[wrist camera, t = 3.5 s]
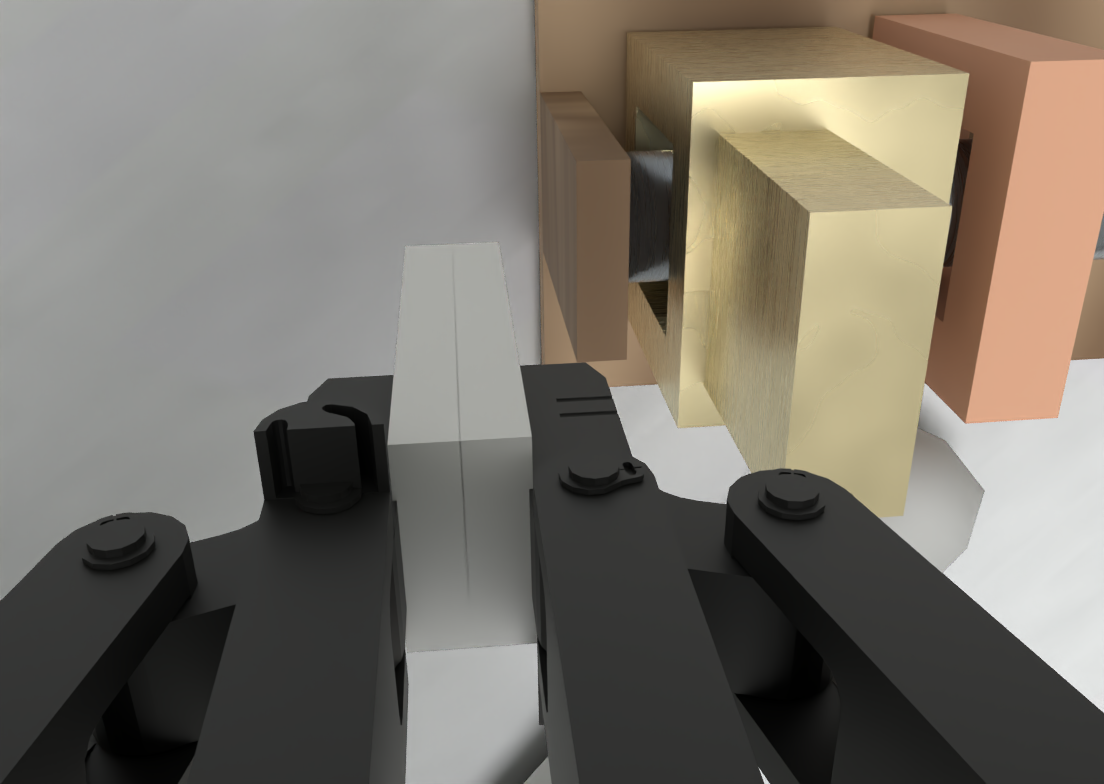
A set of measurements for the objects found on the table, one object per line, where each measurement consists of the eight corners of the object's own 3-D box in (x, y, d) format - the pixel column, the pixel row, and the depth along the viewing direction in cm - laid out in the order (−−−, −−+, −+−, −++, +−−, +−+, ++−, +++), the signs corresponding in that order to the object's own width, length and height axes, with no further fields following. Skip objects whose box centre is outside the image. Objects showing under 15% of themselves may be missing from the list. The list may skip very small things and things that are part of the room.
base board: (542, 375, 30) (577, 532, 22) (532, -91, 24) (575, -81, 17) (1266, 334, 32) (1512, 466, 24) (1403, -107, 26) (1768, -103, 19)
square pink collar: (842, 299, 28) (965, 423, 22) (875, 15, 25) (1031, 61, 18) (914, 295, 28) (1057, 417, 22) (955, 13, 25) (1137, 58, 19)
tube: (886, 407, 27) (364, 982, 34) (1047, 532, 27) (495, 1078, 34) (859, 362, 32) (410, 870, 39) (995, 468, 32) (523, 954, 39)
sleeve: (622, 306, 27) (743, 574, 17) (627, 32, 24) (779, 147, 14) (809, 297, 28) (1043, 552, 17) (836, 26, 25) (1140, 133, 14)
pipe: (573, 263, 25) (591, 309, 22) (573, 134, 23) (592, 167, 21) (1398, 224, 26) (1508, 262, 24) (1441, 103, 25) (1562, 129, 22)
